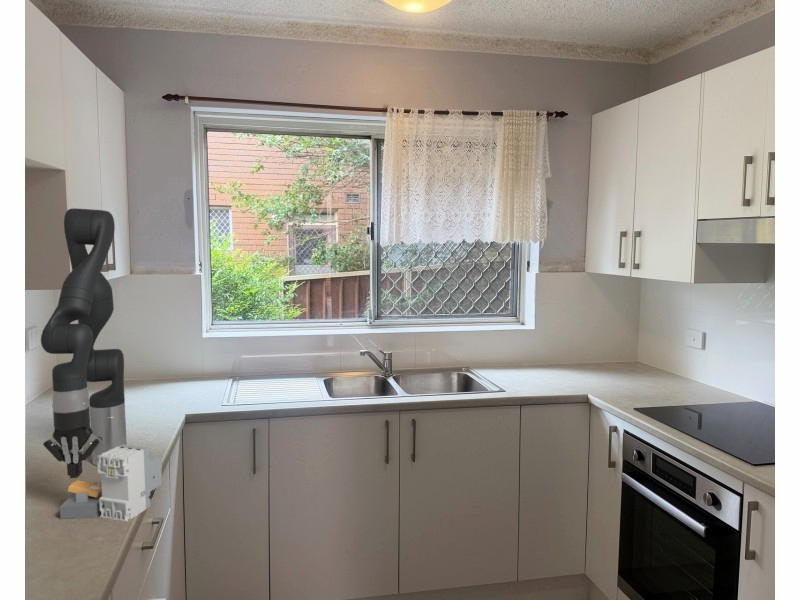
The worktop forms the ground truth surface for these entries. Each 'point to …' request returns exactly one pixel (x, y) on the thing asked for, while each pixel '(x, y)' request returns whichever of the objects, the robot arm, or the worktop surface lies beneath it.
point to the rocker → (85, 488)
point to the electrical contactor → (127, 481)
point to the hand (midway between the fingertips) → (75, 476)
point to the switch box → (80, 506)
